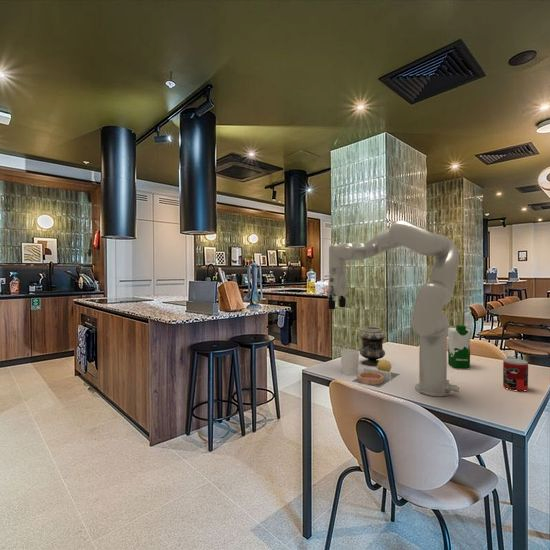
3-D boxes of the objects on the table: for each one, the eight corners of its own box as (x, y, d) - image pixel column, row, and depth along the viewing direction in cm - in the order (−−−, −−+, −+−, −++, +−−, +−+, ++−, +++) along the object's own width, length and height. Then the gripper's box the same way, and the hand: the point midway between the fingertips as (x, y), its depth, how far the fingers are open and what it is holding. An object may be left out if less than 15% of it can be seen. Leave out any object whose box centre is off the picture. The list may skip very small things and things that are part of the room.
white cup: (359, 376, 151) (359, 353, 151) (340, 375, 153) (340, 353, 153) (358, 371, 159) (358, 349, 159) (340, 370, 161) (340, 349, 160)
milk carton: (453, 369, 161) (453, 326, 161) (445, 364, 170) (445, 323, 170) (472, 369, 161) (473, 326, 160) (464, 364, 170) (464, 323, 169)
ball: (393, 372, 155) (393, 359, 155) (388, 376, 151) (388, 362, 151) (380, 370, 159) (380, 357, 159) (374, 373, 155) (374, 359, 154)
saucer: (387, 380, 145) (387, 375, 145) (376, 386, 137) (376, 381, 137) (364, 375, 151) (364, 370, 151) (353, 381, 144) (353, 376, 144)
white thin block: (391, 379, 146) (391, 372, 146) (390, 380, 145) (390, 373, 145) (364, 374, 153) (364, 367, 153) (363, 374, 153) (363, 368, 153)
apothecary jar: (390, 364, 170) (390, 327, 169) (374, 368, 163) (374, 330, 162) (370, 359, 180) (370, 324, 179) (354, 363, 173) (354, 327, 172)
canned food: (498, 385, 139) (499, 358, 139) (519, 385, 139) (519, 358, 139) (511, 392, 132) (511, 363, 132) (532, 392, 132) (533, 363, 131)
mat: (399, 374, 153) (399, 374, 153) (379, 388, 137) (379, 387, 137) (374, 369, 161) (374, 369, 161) (351, 382, 144) (351, 381, 144)
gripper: (334, 271, 151) (334, 310, 152) (353, 271, 165) (353, 307, 165) (320, 271, 156) (320, 309, 156) (339, 270, 169) (339, 306, 170)
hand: (337, 308), depth 161 cm, fingers open, 9 cm apart
